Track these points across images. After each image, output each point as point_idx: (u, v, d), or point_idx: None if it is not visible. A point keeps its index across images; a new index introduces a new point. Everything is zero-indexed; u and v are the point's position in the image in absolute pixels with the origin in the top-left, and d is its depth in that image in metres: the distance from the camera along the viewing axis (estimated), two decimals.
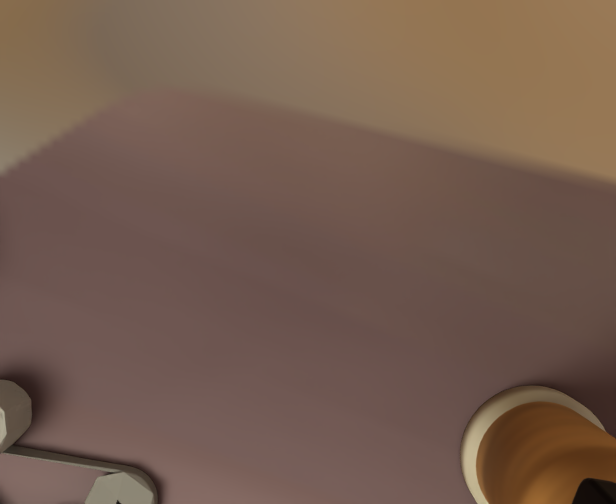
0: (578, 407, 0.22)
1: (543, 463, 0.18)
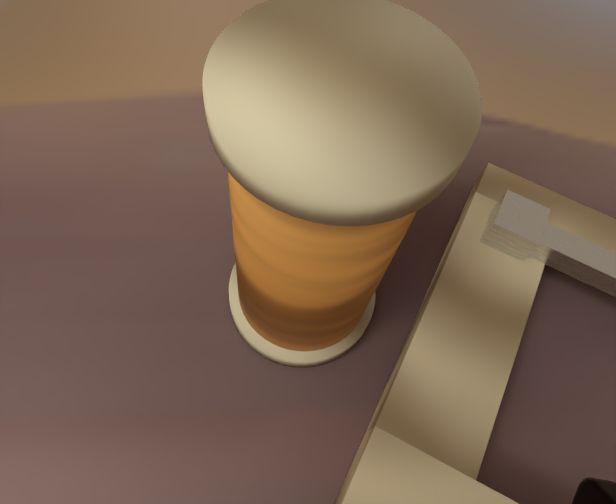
0: None
1: None
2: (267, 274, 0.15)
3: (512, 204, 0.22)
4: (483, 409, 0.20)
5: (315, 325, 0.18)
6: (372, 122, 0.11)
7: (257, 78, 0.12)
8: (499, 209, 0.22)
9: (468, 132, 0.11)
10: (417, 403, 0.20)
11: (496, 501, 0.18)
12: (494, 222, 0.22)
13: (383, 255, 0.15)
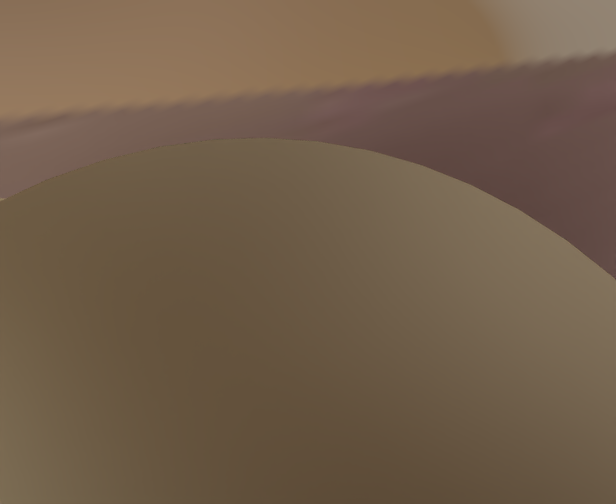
0: None
1: None
2: None
3: None
4: None
5: None
6: None
7: None
8: None
9: None
10: None
11: None
12: None
13: None
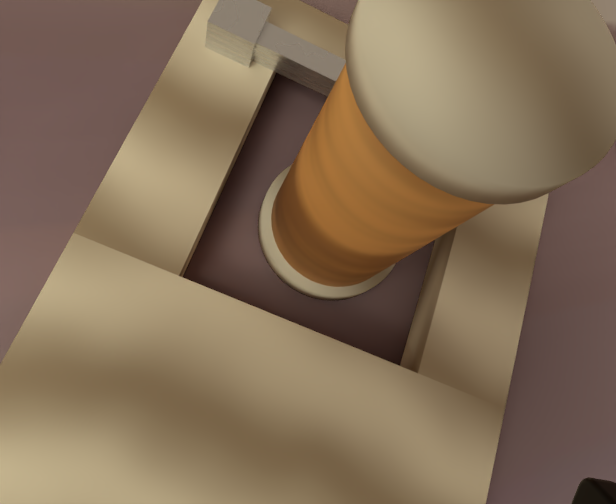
0: None
1: None
2: (329, 203, 0.15)
3: (230, 2, 0.21)
4: (192, 211, 0.20)
5: (344, 265, 0.18)
6: (515, 100, 0.11)
7: (418, 10, 0.11)
8: (216, 7, 0.21)
9: (600, 145, 0.11)
10: (122, 209, 0.19)
11: (198, 292, 0.19)
12: (208, 20, 0.20)
13: (449, 227, 0.14)
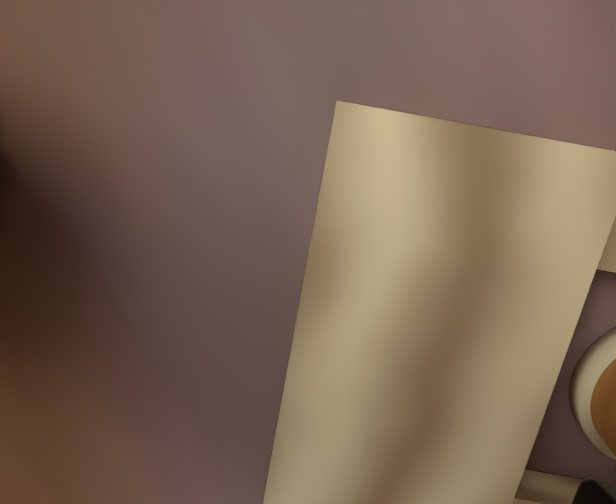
0: None
1: None
2: None
3: None
4: None
5: None
6: None
7: None
8: None
9: None
10: None
11: (579, 290, 0.18)
12: None
13: None
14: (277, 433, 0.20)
